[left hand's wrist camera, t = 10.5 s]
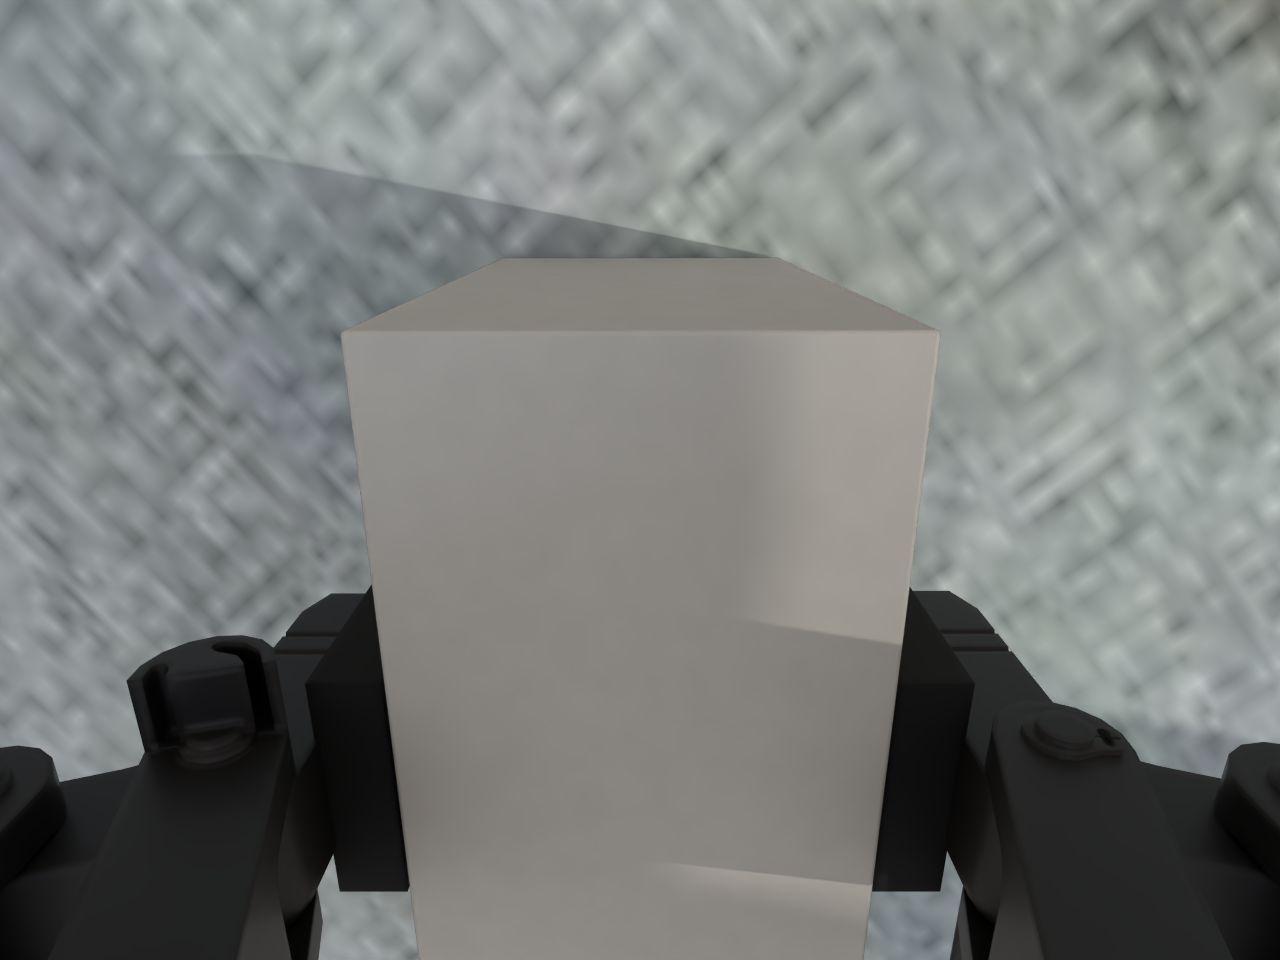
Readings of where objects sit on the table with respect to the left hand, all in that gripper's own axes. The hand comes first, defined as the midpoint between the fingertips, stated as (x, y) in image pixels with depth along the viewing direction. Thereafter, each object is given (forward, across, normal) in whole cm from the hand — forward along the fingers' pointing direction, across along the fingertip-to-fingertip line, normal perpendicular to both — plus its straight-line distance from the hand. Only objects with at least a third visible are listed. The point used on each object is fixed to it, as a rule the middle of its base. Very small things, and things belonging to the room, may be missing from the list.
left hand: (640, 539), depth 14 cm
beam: (+1, 0, -29) cm, 29 cm away
